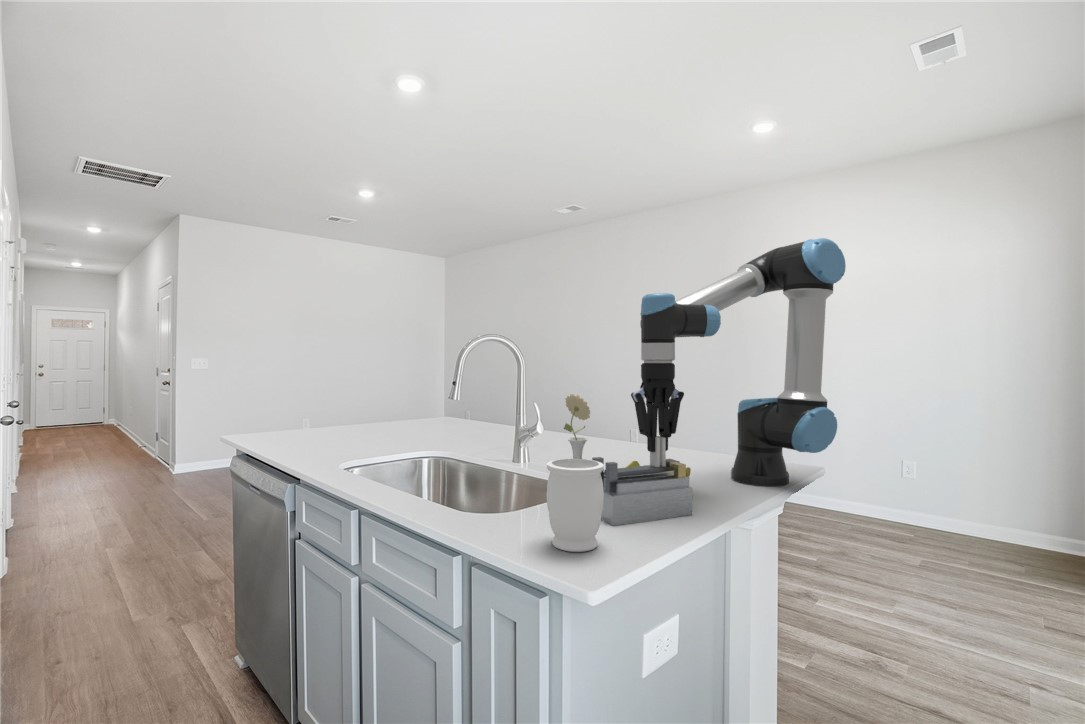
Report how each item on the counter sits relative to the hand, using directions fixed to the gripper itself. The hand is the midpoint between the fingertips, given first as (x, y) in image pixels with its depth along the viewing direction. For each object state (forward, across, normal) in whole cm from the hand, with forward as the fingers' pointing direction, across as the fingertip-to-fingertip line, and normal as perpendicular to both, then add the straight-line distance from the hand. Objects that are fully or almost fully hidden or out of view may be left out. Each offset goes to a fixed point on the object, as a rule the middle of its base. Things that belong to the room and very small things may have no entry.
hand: (657, 465), depth 122 cm
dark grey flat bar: (+1, +4, 0) cm, 4 cm away
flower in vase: (+10, +11, -20) cm, 25 cm away
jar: (+10, +28, +14) cm, 33 cm away
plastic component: (+10, -10, -15) cm, 21 cm away
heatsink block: (+10, +6, 0) cm, 11 cm away
